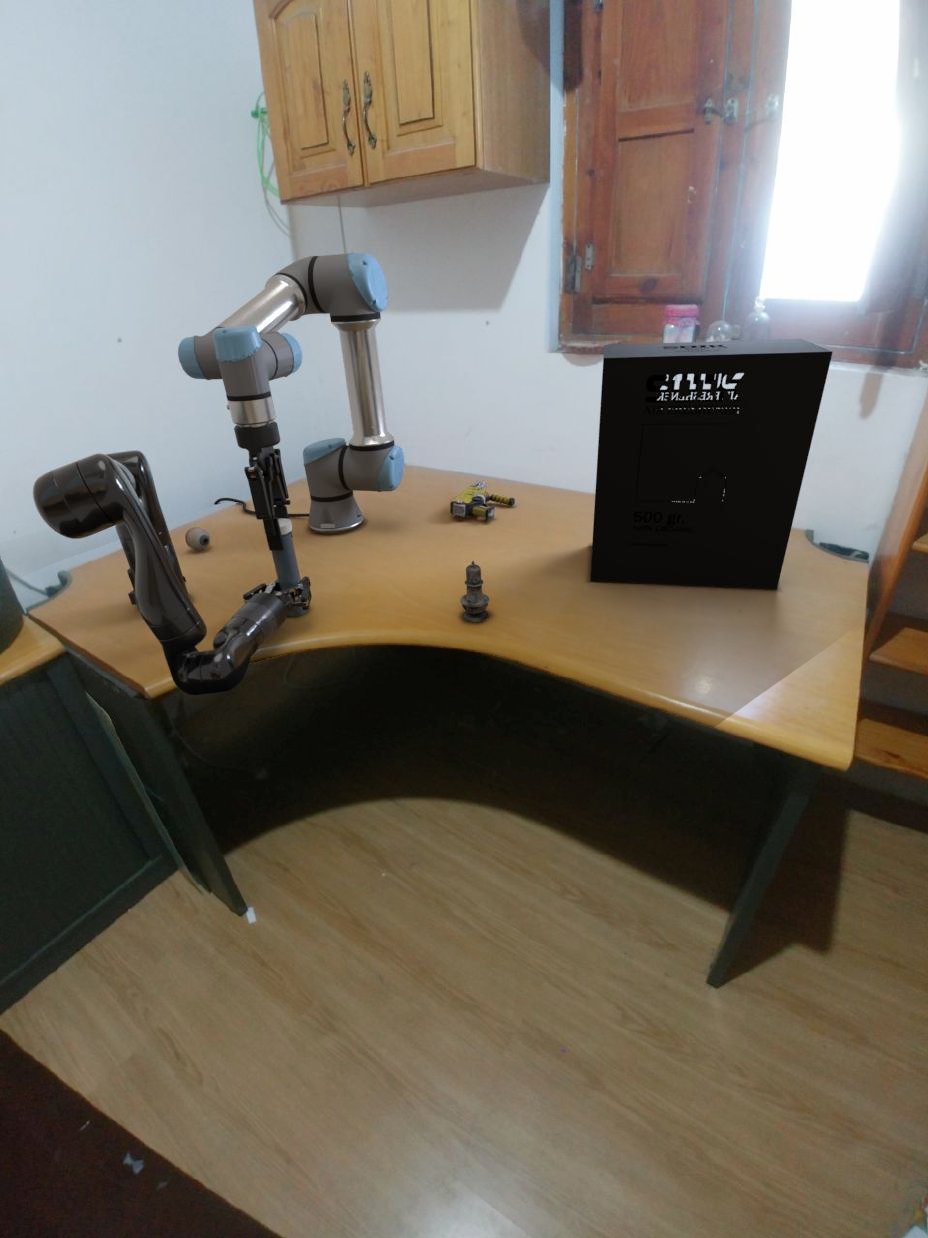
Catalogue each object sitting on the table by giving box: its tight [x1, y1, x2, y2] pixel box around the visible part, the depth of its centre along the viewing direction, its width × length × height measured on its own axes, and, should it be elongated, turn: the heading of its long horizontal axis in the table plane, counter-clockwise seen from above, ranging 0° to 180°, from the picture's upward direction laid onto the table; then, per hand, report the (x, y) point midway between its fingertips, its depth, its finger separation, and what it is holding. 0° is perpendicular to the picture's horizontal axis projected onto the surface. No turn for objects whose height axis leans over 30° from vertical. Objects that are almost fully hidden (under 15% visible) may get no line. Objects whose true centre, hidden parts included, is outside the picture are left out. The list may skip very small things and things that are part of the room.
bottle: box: [271, 532, 308, 617], centre depth 122 cm, size 4×4×19 cm
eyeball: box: [184, 526, 211, 551], centre depth 157 cm, size 6×6×6 cm
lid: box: [262, 518, 293, 535], centre depth 117 cm, size 5×5×2 cm
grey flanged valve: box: [459, 560, 491, 623], centre depth 118 cm, size 6×6×12 cm
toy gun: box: [449, 480, 516, 522], centre depth 174 cm, size 5×24×15 cm
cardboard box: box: [589, 338, 834, 590], centre depth 125 cm, size 38×20×45 cm, turn 78°
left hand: (296, 580), depth 126 cm, fingers closed on bottle, 4 cm apart
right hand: (281, 543), depth 119 cm, fingers closed on lid, 5 cm apart
